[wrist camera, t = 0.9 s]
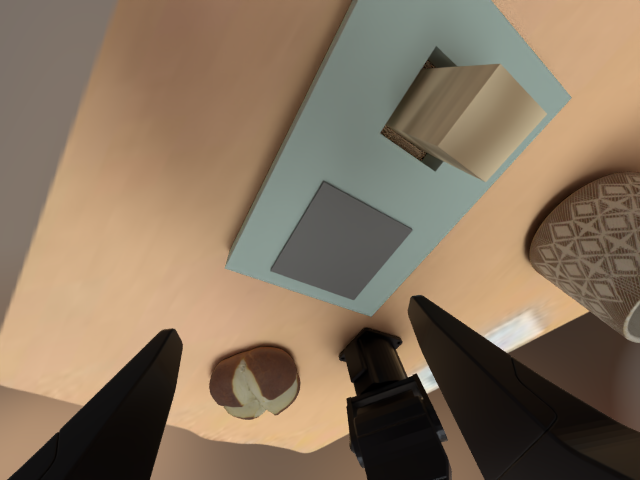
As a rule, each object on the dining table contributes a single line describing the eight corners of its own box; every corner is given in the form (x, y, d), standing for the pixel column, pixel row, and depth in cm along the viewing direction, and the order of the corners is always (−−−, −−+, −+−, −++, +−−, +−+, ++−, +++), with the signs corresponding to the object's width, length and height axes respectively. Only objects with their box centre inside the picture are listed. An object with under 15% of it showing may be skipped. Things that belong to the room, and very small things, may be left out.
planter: (575, 275, 33) (682, 346, 24) (498, 263, 30) (590, 339, 21) (665, 182, 27) (854, 232, 18) (581, 154, 23) (760, 198, 15)
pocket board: (541, 95, 20) (575, 97, 18) (364, 300, 30) (372, 319, 27) (388, -74, 14) (410, -104, 12) (229, 251, 24) (224, 270, 21)
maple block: (454, 101, 19) (547, 113, 13) (419, 149, 21) (485, 182, 14) (417, 69, 18) (500, 63, 11) (382, 123, 20) (437, 146, 13)
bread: (291, 336, 32) (293, 375, 27) (303, 384, 38) (306, 422, 34) (200, 353, 31) (187, 396, 27) (227, 399, 37) (221, 440, 33)
